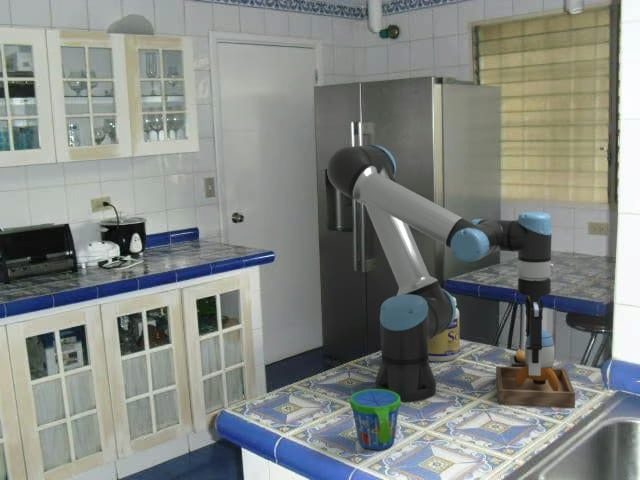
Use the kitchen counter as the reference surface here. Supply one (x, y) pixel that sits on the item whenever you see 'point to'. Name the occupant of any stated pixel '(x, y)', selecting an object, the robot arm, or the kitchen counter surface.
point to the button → (520, 356)
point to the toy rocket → (546, 364)
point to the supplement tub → (446, 342)
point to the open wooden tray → (533, 390)
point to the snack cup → (375, 417)
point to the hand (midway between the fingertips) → (533, 369)
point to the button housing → (516, 362)
